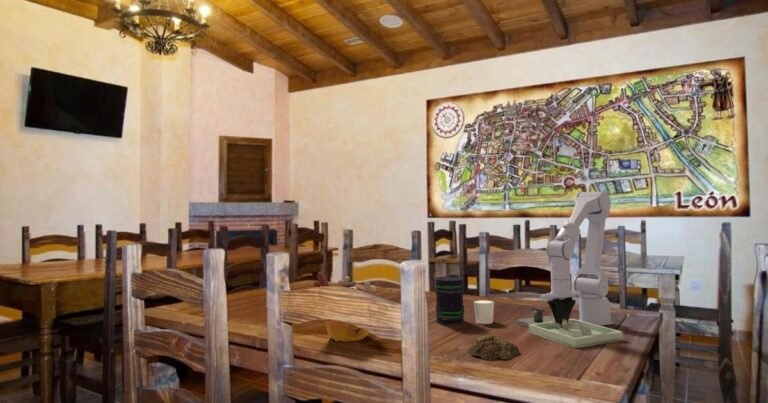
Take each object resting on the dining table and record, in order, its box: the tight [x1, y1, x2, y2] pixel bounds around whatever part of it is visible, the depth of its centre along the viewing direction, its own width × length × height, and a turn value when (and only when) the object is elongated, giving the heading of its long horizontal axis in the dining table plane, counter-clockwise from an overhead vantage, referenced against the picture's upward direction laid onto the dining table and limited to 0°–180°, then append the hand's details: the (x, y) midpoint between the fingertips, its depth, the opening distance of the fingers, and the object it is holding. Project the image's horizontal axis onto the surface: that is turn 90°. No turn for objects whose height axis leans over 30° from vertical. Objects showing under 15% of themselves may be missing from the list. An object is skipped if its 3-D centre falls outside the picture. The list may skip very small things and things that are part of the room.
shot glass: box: [473, 299, 495, 325], centre depth 163 cm, size 7×7×7 cm
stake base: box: [516, 306, 553, 328], centre depth 157 cm, size 13×11×6 cm
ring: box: [551, 316, 591, 338], centre depth 144 cm, size 13×9×2 cm
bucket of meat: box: [313, 272, 377, 343], centre depth 146 cm, size 20×16×20 cm
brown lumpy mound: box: [468, 334, 520, 361], centre depth 127 cm, size 13×12×5 cm
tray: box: [528, 318, 624, 349], centre depth 142 cm, size 18×19×2 cm
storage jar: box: [434, 275, 465, 326], centre depth 164 cm, size 10×10×15 cm
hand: (561, 322), depth 147 cm, fingers closed on ring, 2 cm apart
